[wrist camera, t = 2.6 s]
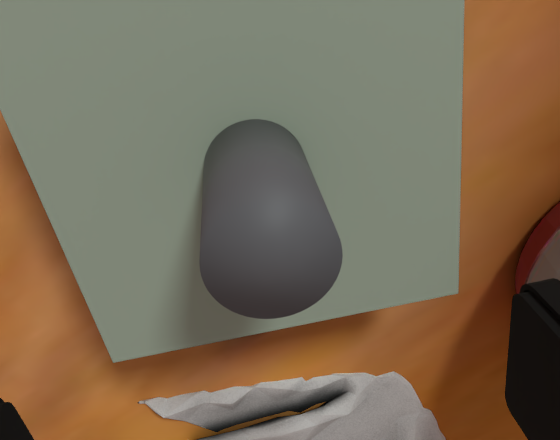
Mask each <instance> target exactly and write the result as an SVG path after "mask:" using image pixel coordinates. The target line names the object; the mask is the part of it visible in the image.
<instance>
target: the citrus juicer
mask: <svg viewBox="0 0 560 440" xmlns="http://www.w3.org/2000/svg"><path fill="white" fill-rule="evenodd" d="M551 278H555V279H558V280H560V202H559V203H558V204H557V205H556V206H555V207H554V208H553V209H552V210H551V211H550V212H549V213H548V214H547V215H546V216H545V217H544V218H543V219H542V220H541V222H540V223H539V224H538V226H537V227H536V228H535V230H534V231H533V232H532V234H531V235H530V237H529V239H528V241H527V243H526V245H525V247H524V248H523V250H522V253H521V256H520V259H519V262H518V265H517V268H516V279H515V288H516V294H519V292H520V288H521V287H522V285H524V284H528V283H532V282H537V281H542V280H547V279H551Z"/></svg>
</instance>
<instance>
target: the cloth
mask: <svg viewBox="0 0 560 440" xmlns="http://www.w3.org/2000/svg"><path fill="white" fill-rule="evenodd" d="M323 402H326V403H324V404H323V405H322V406H320V407H319V408H317V409H314V410H312V411H309V412H306V413H303V414H299V415H291V416H283V417H277V418H274V419H271V420H268V421H264V422H261V423H258V424H255V425H252V426H249V427H245V428H242V429H239V430H235V431H231V432H227V433H223V434H219V435H215V436H211V437H205V438H201V439H197V440H446V438H445V437H444V435H443V434H442V432H441V431H440V430H439V427H438V424H437V421H436V419H435V417H434V415H433V413H432V412H431V410H429V409H426V408H423V406H422V404H421V402H420V400H419V398H418V396H417V394H416V392H415V390H414V389H413V387H412V385H411V384H410V383H409V382H408V381H407V380H406V379H405V378H404V377H403V376H401V375H399V374H397V373H396V372H394V371H393V372H390V373H386V374H383V375H379V376H374V375H370V374H367V373H339V374H332V375H328V376H320V377H314V378H312V379H310V380H308V381H305V380H304V379H303V378H302V377H301V378H294V379H288V380H281V381H274V382H261V383H258V384H256V385H253V386H235V387H231V388H227V389H223V390H219V391H215V392H212V393H210V392H207V391H199V392H194V393H188V394H182V395H178V396H174V397H171V398H168V399H167V398H161V397H157V398H152V399H147V400H142V401H139V402H138V403H144V404H147V405H148V406H149V407H150V408H151V409H152V410H153V411H154V412H156V413H157V414H158V415H160V416H162V417H163V418H168V419H175V420H181V421H187V422H189V423H192V424H195V425H198V426H201V427H203V428H206V429H209V430H212V431H215V432H218V431H220V430H223V429H225V428H228V427H231V426H234V425H237V424H240V423H244V422H248V421H252V420H256V419H259V418H263V417H267V416H271V415H274V414H278V413H282V412H286V411H294V412H299V413H301V412H302V411H304V410H306V409H308V408H310V407H311V406H313V405H315V404H319V403H323Z"/></svg>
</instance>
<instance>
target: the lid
mask: <svg viewBox="0 0 560 440" xmlns="http://www.w3.org/2000/svg"><path fill="white" fill-rule="evenodd" d="M463 43H464V0H0V110H1V112H2V115H3V117H4V119H5V121H6V124H7V126H8V128H9V130H10V132H11V135H12V137H13V139H14V141H15V144H16V146H17V148H18V150H19V153H20V155H21V157H22V159H23V162H24V164H25V166H26V168H27V171H28V173H29V175H30V177H31V180H32V182H33V184H34V186H35V188H36V191H37V193H38V195H39V197H40V200H41V202H42V204H43V206H44V209H45V211H46V213H47V215H48V218H49V220H50V222H51V224H52V227H53V229H54V231H55V233H56V236H57V238H58V240H59V242H60V245H61V247H62V249H63V251H64V253H65V256H66V258H67V260H68V262H69V265H70V267H71V269H72V271H73V274H74V276H75V278H76V280H77V283H78V285H79V287H80V289H81V292H82V294H83V296H84V298H85V301H86V303H87V305H88V307H89V309H90V312H91V314H92V316H93V318H94V321H95V323H96V325H97V327H98V330H99V332H100V334H101V336H102V339H103V341H104V343H105V345H106V348H107V350H108V352H109V354H110V357H111V359H112V361H113V363H115V362H120V361H125V360H130V359H135V358H140V357H144V356H149V355H154V354H159V353H164V352H169V351H174V350H179V349H184V348H189V347H194V346H199V345H204V344H209V343H214V342H219V341H224V340H229V339H234V338H239V337H244V336H249V335H254V334H259V333H264V332H269V331H274V330H279V329H284V328H289V327H294V326H299V325H304V324H309V323H314V322H319V321H324V320H328V319H333V318H338V317H343V316H348V315H353V314H358V313H363V312H368V311H373V310H378V309H383V308H388V307H393V306H398V305H403V304H408V303H413V302H418V301H423V300H428V299H433V298H438V297H443V296H448V295H453V294H458V285H459V237H460V188H461V140H462V91H463Z"/></svg>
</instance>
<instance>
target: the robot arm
mask: <svg viewBox="0 0 560 440" xmlns="http://www.w3.org/2000/svg"><path fill="white" fill-rule="evenodd" d="M505 398H506V403H507V406H508V408H509V410H510V412H511V414H512V416H513V417H514V419H515V420H516V422H517V423H518V425H519V426H520V428H521V429H522V431H523V432H524V434H525V436H526V437H527V439H528V440H560V280H558V279H555V278H551V279H547V280H542V281H537V282H532V283H528V284H524V285H522V287H521V288H520V292H519V294H515V295H514V296H513V299H512V310H511V323H510V336H509V349H508V361H507V374H506V387H505ZM0 440H34V439H33V437H32V435H31V434H30V432H29V430H28V429H27V427H26V425H25V424H24V422H23V420H22V419H21V417H20V415H19V414H18V412H17V410H16V409H15V407H14V406H13V405H12V403H10V402H4V401H3V400H2V399H1V398H0Z"/></svg>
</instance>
